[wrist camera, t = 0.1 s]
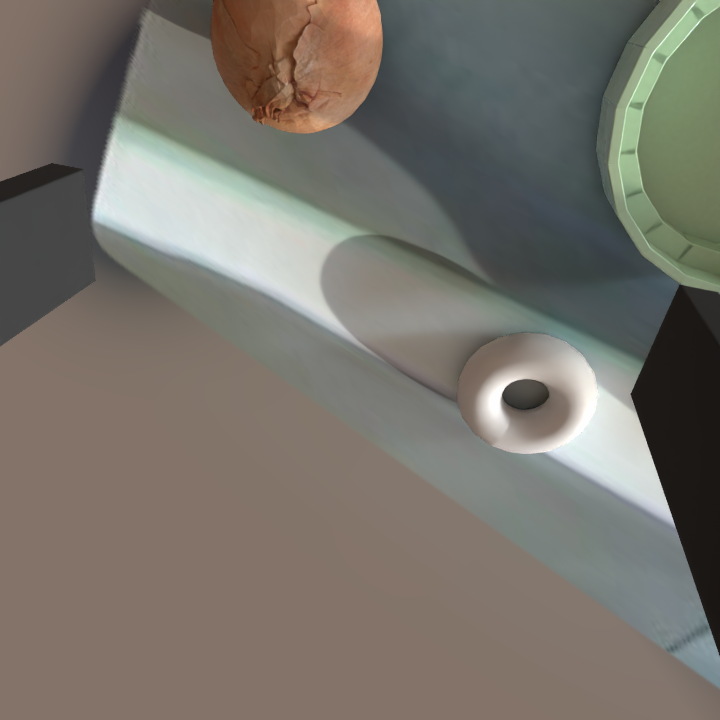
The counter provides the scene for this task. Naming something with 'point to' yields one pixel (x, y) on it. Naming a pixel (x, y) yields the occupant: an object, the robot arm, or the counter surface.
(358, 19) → the onion
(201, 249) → the counter surface
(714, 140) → the bowl
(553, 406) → the donut
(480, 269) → the counter surface
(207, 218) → the counter surface
